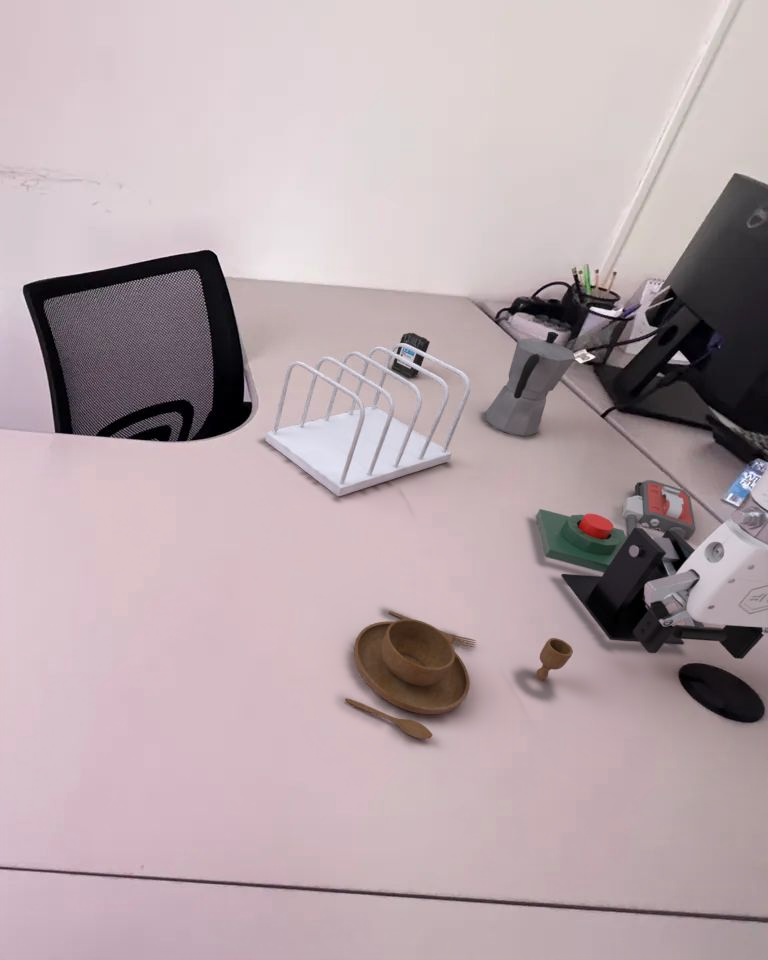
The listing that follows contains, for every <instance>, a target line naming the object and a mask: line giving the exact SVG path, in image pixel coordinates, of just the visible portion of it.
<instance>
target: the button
mask: <svg viewBox="0 0 768 960" xmlns="http://www.w3.org/2000/svg"><path fill="white" fill-rule="evenodd" d="M583 515H584V517H583V519H582V520H581V522H580V523H579V525H578V528H579V529H580V530H582V531H583V532H584V533H585V534H587V535H589V536H591V537H594V538H598V539H606V538H607V537H608V536H609V534H610V533H611V531H612V530H613V528H614V524H613V523H612V522H611V521H610V520H609V519H608V518H606V517H604V516H602V515H599V514H597V513H586V514H583Z"/></svg>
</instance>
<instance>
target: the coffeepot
mask: <svg viewBox="0 0 768 960" xmlns="http://www.w3.org/2000/svg"><path fill="white" fill-rule="evenodd" d="M557 338H559V333H557V332H555V331H548V332H547V336H546V339H540V338H536V337H535V338H534V337H527V338H521V339H520V338H519V339H517V342H516V345H515V349H514V353H513V357H512V361H511V364H510V368H509V371H508V381H507V383H506V385H503V387H502V388H501V390H500V391H499V392H498V394H497V395H496V397H495V398H494V400H493V401H492V403H491V404H490V406H489V407H488V409H487V410H486V411H485V420H486V422H487V423H488V424H489V425H490V426H492V427H493V428H494V429H497V430H498V431H501V432H503V433H506V434H509V435H514V436H520V437H530V436H534V434H537V433H539V428H540V425H541V422H542V419H543V418H542V417H543V414H544V410H545V406H546V404H547V396H548V394H549V392H551V391H554V390H555V388H556V386H557V385H558V384H559V382H560V381H561V379H562V378H563V377H564V375H565V374H566V373H567V371H568V370H569V368H570V367H571V366H572V364H573V363H574V361H576V357H575V354H574V351H573V350H571V349H570V348H567V347H565V346H563V345H562V343H561V342H556V340H557Z"/></svg>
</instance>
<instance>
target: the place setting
mask: <svg viewBox="0 0 768 960" xmlns="http://www.w3.org/2000/svg"><path fill="white" fill-rule="evenodd" d="M388 613H389V614H390V615H392V616H395V617H397V618H399V619H397V620H394V621H391V620H390V621H389V620H388V621H379V622H374V623H371V624H369V625H367V626H366V627H364V628H363V629H362V630H361V631H360V632H359V633H358V634H357V637H356V639H355V642H354V646H353V659H354V663H355V665H356V668H357V671H358V673H359V674H360V676H361V677H362V679H363V681H364V682H365V683H366V684H367V685H368V686H369V688H371V689H372V690H373V691H374V692H375V693H376V694H377V695H378V696H380V697H381V698H382V699H384V700H385V701H387V702H388V703H390V704H392V705H394V706H396V707H398V708H400V709H402V710H406V711H408V712H412V713H416V714H420V715H421V714H422V715H439V714H444V713H447V712H451V711H452V710H454V709H456V708H458V706H460V705H461V704H462V703H463V702H464V701H465V699H466V698H467V696H468V694H469V691H470V686H471V681H470V675H469V671H468V670H467V667H466V665H465V664H464V662H463V660H462V658H461V657H460V656H459V654H458V653H457V652H456V651H455V648H454V645H453V644H457V645H460V646H465V647H470V648H475V646H476V642H477V640H476V639H473V638H468V637H464V636H460V635H456V634H451V633H447V632H445V631H443V630H440V629H438V628H436V627H435V626H433V625H432V624H430V623H427V622H424V621H421V620H419V619H413V618H410V617H407V616H405V615H402V614H400V613H397V612H394V611H391V610H388ZM573 653H574V650H573V648H572V646H571V645H570V644H569V643H568V642H566V641H565V640H563V639H560V638H558V637H557V638H556V637H551V638H549V639H548V640H547V641H546V642H545V644H544V646H543V648H541V651H540V653H539V660H540V662H541V664H542V665H541V667H540V668H538V669H537V670H536V676H535V679H536V680H538V681H540V682H541V681H543V680H545V679H547V678H548V677H549V672H550V671H551V670H554V671H555V670H559V669H562V668H563V667H564V666H565V665H566V664H567V663H568V661H569V659H570V658H571V657H572V655H573ZM344 701H345V702H346V703H348V704H350V705H352V706H354V707H357V708H359V709H361V710H364V711H365V712H366V711H367V712H369V713H371V714H373V715H377V716H379V717H381V718H384V719H386V720H388V721H390V722H393V723H394V724H395V725H397V726H398V727H399V728H400V729H401V730H402V731H403V732H404V733H406V734H407V735H409V736H411V737H412V738H413V737H414V738H417V739H421V740H428V739H431V738H432V737H433V734H432V731H430V730H429V728H427V727H426V726H425V725H423V724H422V723H420V722H418V721H416V720H414V719H413V720H412V719H408V718H399V717H395V716H391V715H390V714H387V713H384V712H383V711H380V710H378V709H375V708H373V707H371V706H369V705H367V704H364V703H362V702H359V701H356V700H354V699H350V698H348V697H346V698H344Z"/></svg>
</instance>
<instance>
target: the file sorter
mask: <svg viewBox="0 0 768 960" xmlns="http://www.w3.org/2000/svg"><path fill="white" fill-rule="evenodd" d="M398 347H404V348H407V349H409V350H411V351H413V352H415V353H417V354H419V355H421V356H423V357H424V359H427V360H429V361H431V362H433V363H435V364H436V365H439V366H441V367H443V368H445V369H446V370H449V371H450V372H453V373H454V374H456V375H458V376H460V378H462V380H463V382H464V384H465V392H464V394H463V396H462V399H461V401H460V405H459V407H458V409H457V412H456V415H455V416H454V420H453V422H452V424H451V427H450V429H449V432H448V434H447V436H446V439H445V442H444V446H441V445H440V444H438V443H437V442H435V441H433V440H432V439H433V436H434V434H435V433H436V430H437V427H438V425H439V423H440V420H441V419H442V416H443V413H444V411H445V408H446V407H447V404H448V402H449V398H450V390H449V389H450V388H449V386H448V384H447V382H446V381H445V380H444V379H443V378H442V377H440V376H438V375H437V374H435V373H433V372H431V371H430V370H428V369H425V368H424V367H422V366H421V367H420V366H418V365H417V364H415V363H413V362H411V361H409V360H407V359H405V358H404V357H402V356H400V355H398V354H396V353H397V352H395V351H396V350H398ZM379 351H380V352H383V353H385V354H387V358H386V362H385V365H383V364H381V363H379V362H378V361H376V360H374V359H372V356H373V354H374V353H376V352H379ZM353 356H355V357H358V358H360V359H361V360H363V361H364V363H363V367H362V370H361V373H359V372H358V371H355V370H354V369H352V368H351V367H349V366H348V365H346V364H347V361H348V359H349V358H350V357H353ZM392 358H394V359H395V358H396V359H398V360H400V361H402V362H403V363H405V364H407V365H409V366H411V367H413V368H414V369H416V370H418V371H419V373H421V374H423V375H426V376H427V377H429V378H431V379H432V380H434V381H436V382H438V383H439V385H440V386H441V387H442V389H443V393H444V395H443V400H442V402H441V404H440V407H439V410H438V412H437V415H436V416H435V419H434V421H433V424H432V425H431V428H430V430H429V433H428V434H427V436H425V435H423V434H422V433H421V432H419V431H417V430H415V429H414V427H415V425H416V422H417V419H418V418H419V415H420V412H421V409H422V407H423V405H422V404H423V398H422V397H423V396H422V393H421V391H420V390H419V388H418V387H417V385H415V384H414V383H413V382H411V381H410V380H408V379H406V378H404V377H403V376H402V375H399V374H398V373H396V372H395V371H394V370H393V371H392V370H391V369H389V367H390V364H391V361H392ZM326 361H328V362H330V363H332V364H334V365H336V366H337V367H338V368H339V369H338V373H337V376H336V378H335V379H336V380H333V378H330V377H329V376H327V375H326V374H324V373H322V372H320V368H321V367H322V365H323V363H324V362H326ZM369 364H370V365H372V366H373V367H375V368H377V369H379V370H380V371H382V374H381V377H380V381H379V384H377V383H375V382H374V381H372V380H370V379H369V378H367V377H366V374H367V370H368V367H369ZM297 366H300V367H302V368H303V369H305V370H306V371H308V372H310V373H311V374H313V375H312V378H311V382H310V384H309V389H308V393H307V397H306V401H305V403H304V404H305V405H304V408H303V412H302V416H301V419H300V423H298V424H295V425H291V426H285V427H282V428H279V427H280V422H281V417H282V413H283V408H284V405H285V400H286V395H287V391H288V385H289V382H290V378H291V374H292V371H293V369H294V367H297ZM344 371H345V372H346V373H348V374H350V375H352V376H353V377H355V378H356V379H358V382H357V385H356V389H355V392H353V391H351V390H350V389H348V388H347V387H345V386H344V385H342V384H340V382H341V380H342V377H343V374H344ZM387 375H389V376H390V377H391V378H393V379H394V380H396V381H399V382H400V383H402V384H403V385H405V386H407V387H408V388H409V389H411V390H412V391H413V392H414V394H415V396H416V407H415V409H414V411H413V414H412V417H411V419H410V422H409V425H407V424H406V423H404V422H402V421H401V420H399V419H398V418H395V417H394V415H395V414H394V413H395V402H394V399H393V397H392V395H391V393H390V392H389V391H387V389H385V388H383V385H384V382H385V379H386V377H387ZM318 378H320V379H321V380H323V381H324V382H326V383H328V384H329V385H331V386H333V390H332V392H331V396H330V399H329V403H328V407H327V410H326V414H325V417H322V418H319V419H318V418H317V419H314V420H311V421H306V418H307V415H308V411H309V407H310V405H311V400H312V397H313V393H314V389H315V387H316V382H317V379H318ZM363 383H364V384H366V385H367V386H369V387H371V388H372V389H374V390H375V391H376V393H375V396H374V400H373V402H372V405H371V406H366V407H365V405H364V402H363V401H362V399H361V398H360V397H359V395H360V391H361V390H362V389H361V388H362V385H363ZM338 390H339V391H340V392H342V393H344V394H346V395H347V396H348V397H350V398H352V401H351V405H350V408H349V411H346V412H343V413H338V414H333V415H331V414H332V409H333V407H334V403H335V399H336V397H337V392H338ZM470 393H471V381H470V379H469V376H468V375H467V374H466V373H465V372H464V371H463V370H461V369H458V368H457V367H454V366H452V365H450V364H449V363H447V362H444V361H442V360H441V359H439V358H437V357H434V356H432V355H430V354H428V353H427V352H426V353H425V352H423V351H421V350H419V349H416V348H414V347H412V346H410V345H408V344H406V343H400V342H399V343H396V344H395V345H393V346H392V347H391V348H390V349H389V348H387V347H384V346H376V347H373V348H372V349H370V351H368V353H367V354H366V355H365V354H364V353H361V352H359V351H357V350H356V351H350V352H348V353H346V354H345V355H344V357H343V358H342V361H339V360H338V359H337V358H334V357H332V356H324V357H321V358H320V359H319V360H317V363H316V365H315V368H314V367H312V366H311V365H309V364H308V363H306V362H303V361H300V360H297V361H293V362H291V363H290V364H289V365H288V367H287V369H286V373H285V376H284V380H283V385H282V389H281V394H280V399H279V403H278V407H277V412H276V417H275V421H274V426H273V430H269V431H267V432H266V435H265V442H266V443H268V444H269V445H270V446H272V447H273V448H274V449H275V450H277V451H278V452H280V453H281V454H283V456H285V457H286V458H287V459H289V460H290V461H291V462H293V463H294V464H295V465H296V466H298V467H299V468H300V469H302V470H303V471H304V472H306V473H307V474H308V475H310V476H311V477H312V478H313V479H315V480H316V481H317V482H319V483H320V484H321V485H323V486H324V487H325V488H326V489H328V490H329V491H330V492H332V493H333V494H334V495H335V496H337V497H342V496H344V495H348V494H351V493H353V492H357V491H360V490H364V489H366V488H369V487H372V486H376V485H379V484H381V483H384V482H388V481H392V480H394V479H397V478H400V477H404V476H406V475H410V474H413V473H416V472H419V471H422V470H425V469H428V468H432V467H435V466H437V465H441V464H444V463H447V462H450V459H451V456H452V451H450V450H448V447H449V445H450V443H451V441H452V439H453V436H454V433H455V431H456V428H457V426H458V423H459V421H460V419H461V416H462V414H463V412H464V409H465V406H466V404H467V401H468V398H469V395H470ZM381 395H383V396H384V397H385V399H386V400H387V402H388V405H389V411H388V412H385V410H383V409H380V408H379V407H377V404H378V403H379V398H380V396H381ZM356 405H357V406H358V409H355V407H356Z"/></svg>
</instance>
